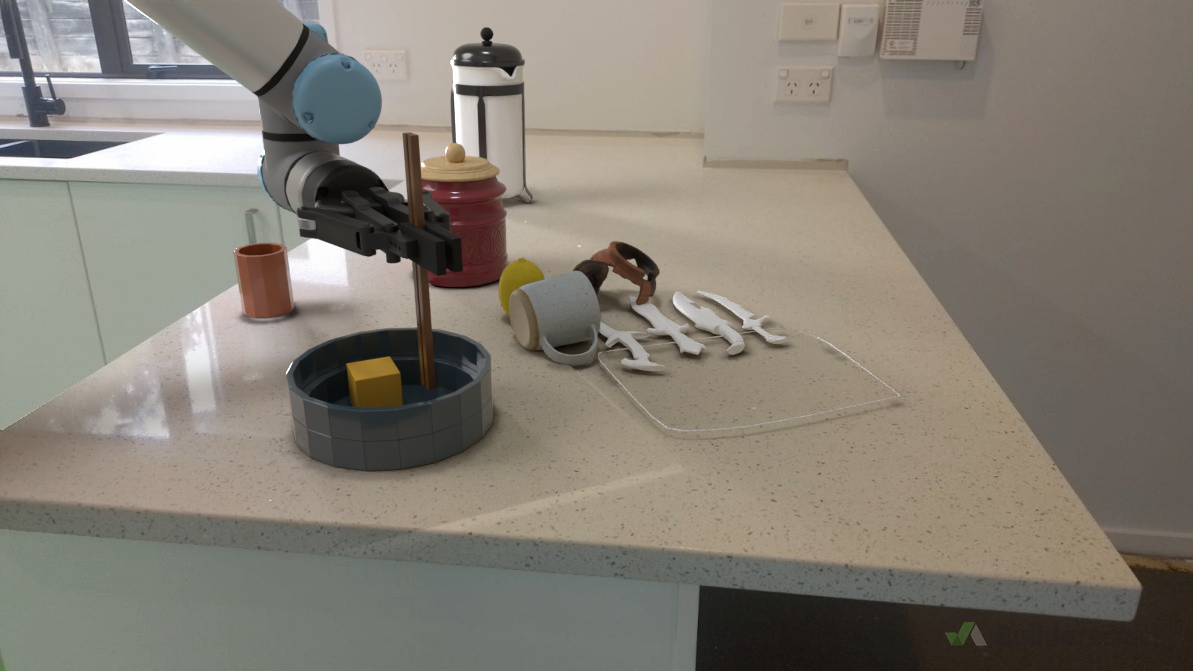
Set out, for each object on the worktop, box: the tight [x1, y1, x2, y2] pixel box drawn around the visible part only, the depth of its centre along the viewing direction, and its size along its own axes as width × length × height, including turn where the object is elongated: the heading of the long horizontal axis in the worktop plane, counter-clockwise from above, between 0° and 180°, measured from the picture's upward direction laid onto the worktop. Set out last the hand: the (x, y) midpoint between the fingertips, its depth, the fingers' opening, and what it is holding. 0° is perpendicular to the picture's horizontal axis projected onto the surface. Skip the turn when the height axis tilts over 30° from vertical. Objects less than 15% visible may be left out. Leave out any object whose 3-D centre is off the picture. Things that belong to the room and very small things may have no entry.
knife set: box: [597, 290, 901, 433], centre depth 91 cm, size 26×35×1 cm
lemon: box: [497, 257, 546, 317], centre depth 97 cm, size 6×6×8 cm
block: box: [346, 357, 403, 408], centre depth 76 cm, size 4×4×4 cm
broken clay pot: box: [572, 240, 661, 305], centre depth 104 cm, size 12×10×8 cm
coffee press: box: [449, 26, 534, 204], centre depth 149 cm, size 17×16×30 cm
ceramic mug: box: [509, 270, 602, 366], centre depth 90 cm, size 11×8×8 cm
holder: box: [232, 242, 295, 319], centre depth 98 cm, size 6×6×8 cm
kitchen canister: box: [411, 142, 509, 288], centre depth 112 cm, size 13×13×18 cm
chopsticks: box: [402, 131, 436, 390], centre depth 70 cm, size 1×2×22 cm, turn 37°
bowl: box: [285, 326, 494, 472], centre depth 74 cm, size 17×17×6 cm
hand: (449, 256), depth 65 cm, fingers closed on chopsticks, 1 cm apart
